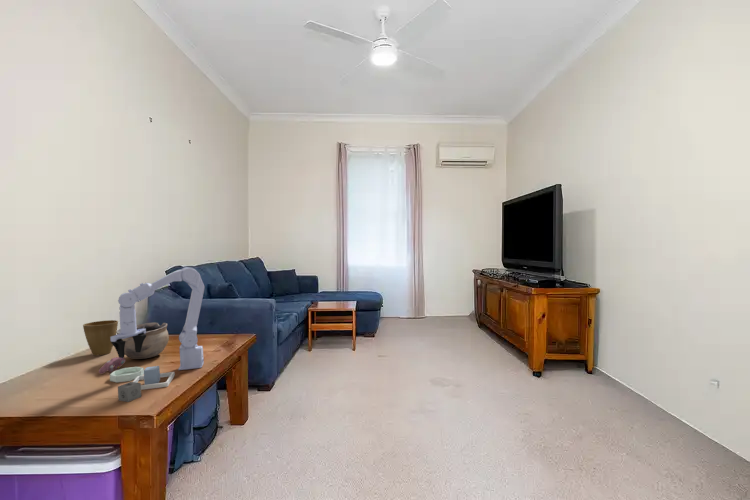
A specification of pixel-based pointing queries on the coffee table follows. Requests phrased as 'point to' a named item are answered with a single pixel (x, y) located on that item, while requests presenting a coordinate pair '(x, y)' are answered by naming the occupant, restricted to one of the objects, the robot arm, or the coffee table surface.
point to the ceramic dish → (126, 374)
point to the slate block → (151, 375)
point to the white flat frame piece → (156, 385)
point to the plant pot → (100, 336)
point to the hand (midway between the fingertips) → (130, 354)
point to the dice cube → (129, 391)
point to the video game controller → (112, 365)
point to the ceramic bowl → (148, 341)
